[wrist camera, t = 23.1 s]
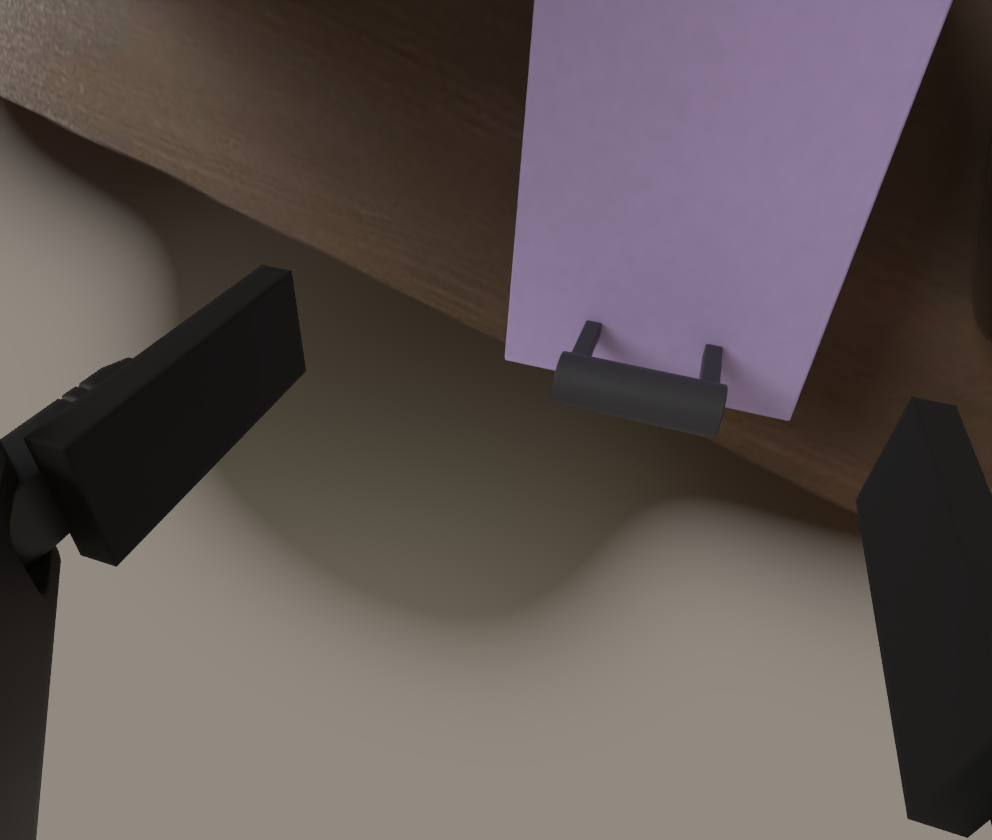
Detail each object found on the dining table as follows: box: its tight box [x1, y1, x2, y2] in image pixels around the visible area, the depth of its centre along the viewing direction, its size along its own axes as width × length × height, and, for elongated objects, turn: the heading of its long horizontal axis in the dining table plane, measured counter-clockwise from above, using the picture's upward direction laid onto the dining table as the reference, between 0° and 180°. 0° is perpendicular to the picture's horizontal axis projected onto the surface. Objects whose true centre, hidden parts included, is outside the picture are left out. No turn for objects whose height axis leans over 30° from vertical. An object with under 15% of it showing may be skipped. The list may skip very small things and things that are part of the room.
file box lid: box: [505, 0, 953, 439], centre depth 23 cm, size 17×13×6 cm
